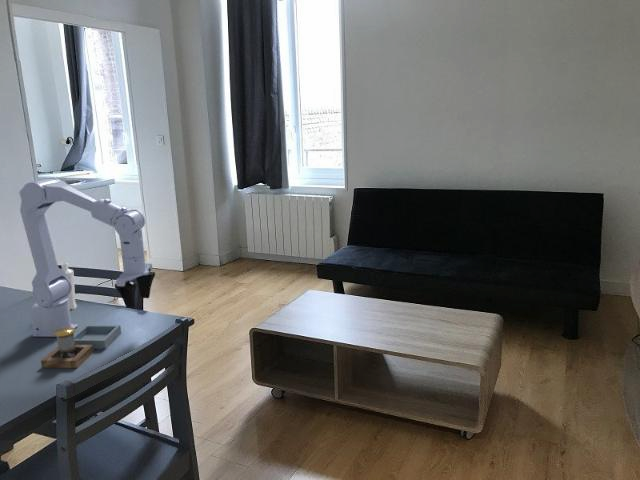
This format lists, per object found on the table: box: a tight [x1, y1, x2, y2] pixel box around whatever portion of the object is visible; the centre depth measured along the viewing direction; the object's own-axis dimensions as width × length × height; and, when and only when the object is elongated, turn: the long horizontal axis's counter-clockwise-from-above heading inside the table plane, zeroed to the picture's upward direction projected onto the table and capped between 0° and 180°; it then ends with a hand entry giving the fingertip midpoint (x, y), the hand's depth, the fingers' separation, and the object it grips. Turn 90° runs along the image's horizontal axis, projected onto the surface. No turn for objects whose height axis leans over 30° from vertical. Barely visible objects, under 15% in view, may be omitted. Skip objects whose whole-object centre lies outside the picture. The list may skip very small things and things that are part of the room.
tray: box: [74, 324, 122, 350], centre depth 146 cm, size 10×10×2 cm
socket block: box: [40, 345, 95, 369], centre depth 135 cm, size 9×9×2 cm
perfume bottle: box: [60, 262, 78, 311], centre depth 169 cm, size 5×4×15 cm
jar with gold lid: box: [55, 327, 77, 358], centre depth 135 cm, size 5×5×8 cm
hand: (138, 302), depth 147 cm, fingers open, 7 cm apart
